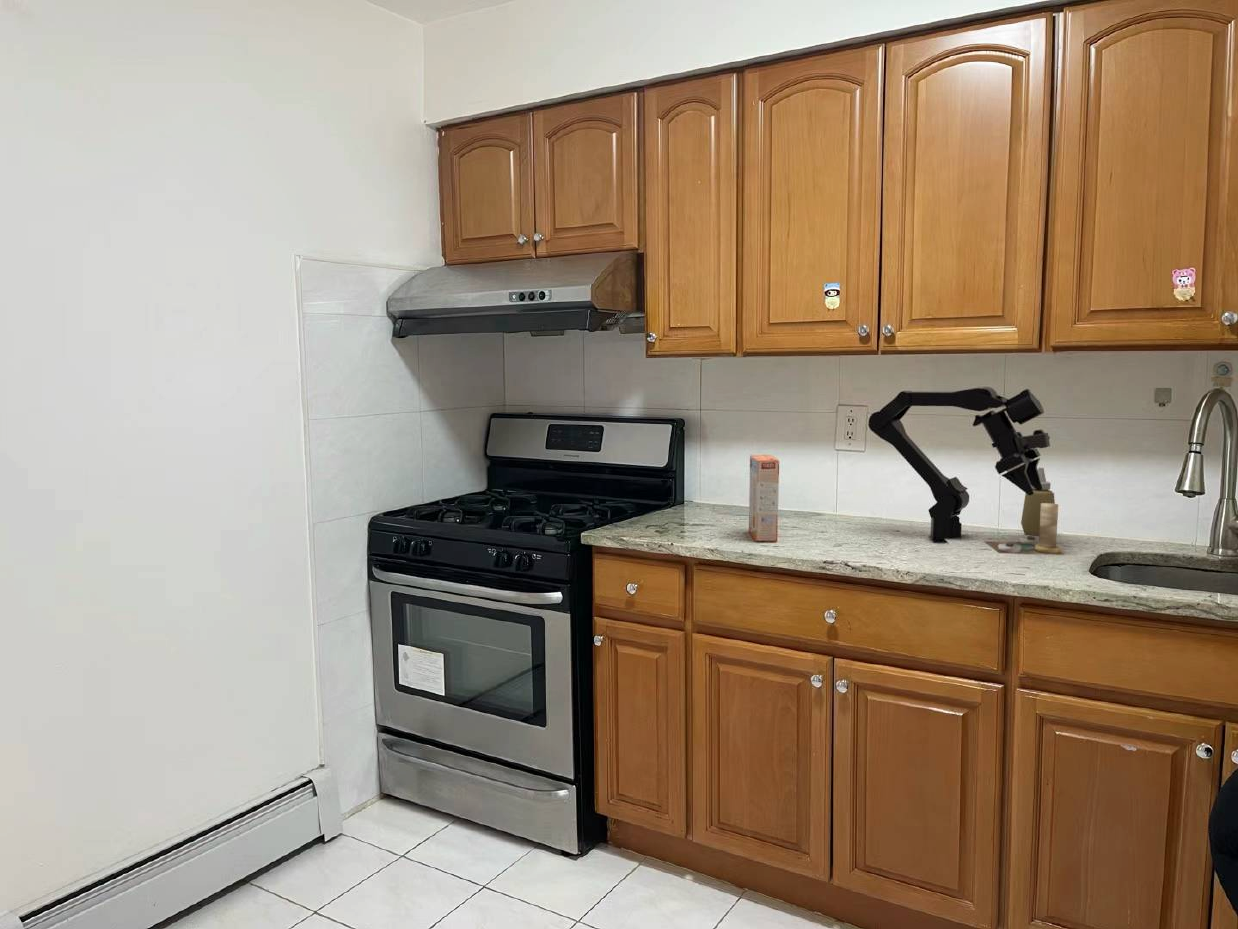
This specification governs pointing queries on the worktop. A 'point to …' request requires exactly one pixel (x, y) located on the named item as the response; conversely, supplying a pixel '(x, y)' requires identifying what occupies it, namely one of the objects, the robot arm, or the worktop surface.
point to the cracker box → (763, 498)
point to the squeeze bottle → (1036, 506)
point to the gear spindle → (1048, 529)
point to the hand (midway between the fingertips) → (1036, 492)
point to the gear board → (1017, 546)
